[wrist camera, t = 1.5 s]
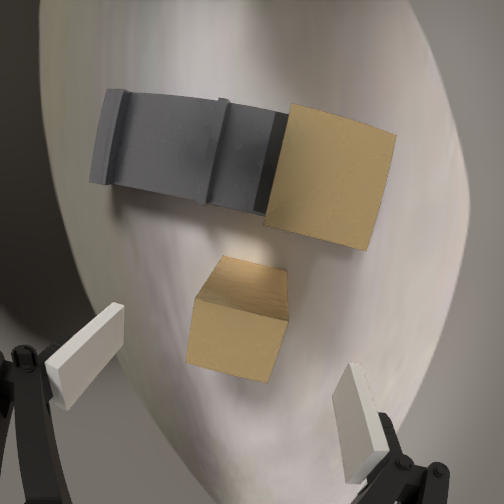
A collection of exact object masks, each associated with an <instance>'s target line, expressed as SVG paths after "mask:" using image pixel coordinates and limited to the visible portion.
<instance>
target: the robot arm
mask: <svg viewBox="0 0 504 504" xmlns="http://www.w3.org/2000/svg"><path fill="white" fill-rule="evenodd" d="M124 307H125V306H124V305H121V304H118V303H115V302H113V303H112V304H110V305H109V306H108V307H107V308H106V309H104V310H103V311H102V312H101V313H100V314H99V315H97V316H96V317H95V318H94V319H93V320H92V321H90V322H89V323H88V324H87V325H86V326H85V327H84V328H82V329H81V330H80V331H79V332H78V333H77V334H75V335H74V336H72V335H70V334H65V335H63V336H60V337H59V338H58V339H56V340H55V341H54V343H52V344H51V345H49V347H47V348H46V349H45V350H44V351H42V352H41V353H40V354H39V355H38V356H37V353H36V350H35V349H34V348H33V347H31V346H29V345H19V346H17V347H15V348H14V349H13V350H12V352H11V356H12V359H13V362H10V361H6V360H5V359H4V356H3V353H2V352H1V351H0V474H1V467H2V460H3V454H4V448H5V443H6V437H7V433H8V428H9V424H10V419H11V415H12V411H13V407H14V409H15V428H16V440H17V449H18V458H19V465H20V472H21V478H22V483H23V488H24V493H25V498H26V502H25V503H24V504H72V501H71V498H70V495H69V491H68V488H67V485H66V482H65V478H64V474H63V471H62V466H61V462H60V459H59V454H58V450H57V445H56V440H55V435H54V429H53V424H52V417H51V411H50V405H49V400H50V399H51V398H52V397H53V400H54V403H55V405H56V406H58V407H60V408H62V409H63V410H65V411H68V410H69V409H70V408H71V406H72V405H73V404H74V403H75V401H76V400H77V399H78V398H79V397H80V395H81V394H82V393H83V392H84V390H85V389H86V388H87V387H88V386H89V385H90V383H91V382H92V381H93V380H94V379H95V377H96V376H97V375H98V374H99V372H100V371H101V370H102V369H103V368H104V367H105V365H106V364H107V363H108V362H109V361H110V359H111V358H112V357H113V356H114V355H115V354H116V352H117V351H118V350H119V349H120V348H121V347H122V345H123V344H124ZM332 400H333V406H334V411H335V417H336V423H337V429H338V435H339V441H340V447H341V454H342V461H343V467H344V474H345V482H346V484H361V483H362V481H363V480H364V479H365V478H367V483H368V484H367V485H366V486H365V487H364V488H363V489H362V490H361V491H360V492H359V493H358V496H357V497H356V498H355V499H354V500H353V501H352V503H351V504H394V503H395V501H397V504H447V498H448V489H449V478H450V472H449V469H448V468H447V466H446V465H444V464H443V463H440V462H433V463H432V464H430V465H429V466H428V467H422V466H417V465H414V462H413V461H412V459H411V458H409V457H408V456H407V455H404V454H403V453H402V450H401V447H400V444H399V441H398V438H397V436H396V434H395V430H394V428H393V424H392V421H391V419H390V418H389V417H388V416H387V414H386V413H379V412H377V409H376V406H375V403H374V400H373V397H372V394H371V391H370V388H369V386H368V383H367V380H366V377H365V374H364V371H363V369H362V366H361V364H360V363H354V362H348V364H347V367H346V369H345V371H344V373H343V375H342V377H341V379H340V381H339V383H338V385H337V387H336V389H335V391H334V393H333V395H332Z"/></svg>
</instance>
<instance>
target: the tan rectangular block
mask: <svg viewBox="0 0 504 504" xmlns="http://www.w3.org/2000/svg"><path fill="white" fill-rule="evenodd" d="M287 325H288V291H287V271H285V270H281V269H277V268H272V267H268V266H264V265H260V264H256V263H252V262H248V261H244V260H240V259H236V258H231V257H227V256H222V258H221V259H220V261H219V262H218V264H217V265H216V267H215V268H214V270H213V271H212V273H211V275H210V276H209V278H208V279H207V281H206V282H205V284H204V285H203V287H202V288H201V290H200V291H199V293H198V294H197V296H196V298H195V301H194V307H193V314H192V320H191V327H190V334H189V340H188V348H187V355H186V363H189V364H192V365H196V366H199V367H203V368H207V369H210V370H214V371H218V372H222V373H226V374H230V375H234V376H238V377H242V378H246V379H251V380H255V381H260V382H265V383H268V381H269V378H270V375H271V372H272V370H273V367H274V364H275V361H276V358H277V355H278V352H279V349H280V346H281V343H282V340H283V337H284V334H285V331H286V328H287Z"/></svg>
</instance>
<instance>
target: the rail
mask: <svg viewBox="0 0 504 504" xmlns="http://www.w3.org/2000/svg"><path fill="white" fill-rule="evenodd" d="M396 136H397V135H394V134H392V133H389V132H386V131H384V130H381V129H378V128H375V127H372V126H369V125H366V124H363V123H360V122H357V121H354V120H351V119H348V118H344V117H341V116H338V115H334V114H331V113H327V112H324V111H320V110H316V109H313V108H309V107H305V106H301V105H297V104H292V105H291V109H290V114H285V113H280V112H276V111H271V110H266V109H261V108H256V107H251V106H246V105H240V104H234V103H231V102H230V101H229V100H228V99H224V98H219V99H218V101H215V100H208V99H201V98H193V97H184V96H174V95H163V94H150V93H133V92H129V91H127V90H125V89H107V90H106V94H105V98H104V103H103V107H102V111H101V116H100V120H99V125H98V130H97V135H96V141H95V146H94V152H93V158H92V165H91V172H90V179H89V182H90V183H96V184H101V185H110V184H116V185H121V186H127V187H132V188H137V189H142V190H147V191H152V192H157V193H162V194H166V195H171V196H176V197H181V198H185V199H190V200H195V201H196V204H198V205H203V206H205V205H207V204H213V205H217V206H222V207H226V208H230V209H235V210H239V211H243V212H248V213H252V214H256V215H260V216H264V217H265V220H264V224H263V225H265V226H269V227H273V228H277V229H281V230H285V231H289V232H293V233H297V234H301V235H305V236H309V237H313V238H317V239H321V240H325V241H329V242H333V243H337V244H340V245H344V246H348V247H352V248H356V249H359V250H363V251H367V248H368V245H369V242H370V238H371V235H372V232H373V228H374V225H375V221H376V218H377V214H378V211H379V207H380V204H381V200H382V196H383V192H384V188H385V184H386V180H387V176H388V172H389V168H390V164H391V159H392V155H393V150H394V145H395V141H396Z"/></svg>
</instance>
